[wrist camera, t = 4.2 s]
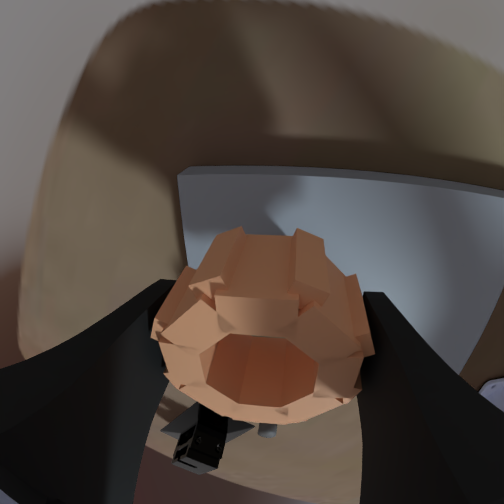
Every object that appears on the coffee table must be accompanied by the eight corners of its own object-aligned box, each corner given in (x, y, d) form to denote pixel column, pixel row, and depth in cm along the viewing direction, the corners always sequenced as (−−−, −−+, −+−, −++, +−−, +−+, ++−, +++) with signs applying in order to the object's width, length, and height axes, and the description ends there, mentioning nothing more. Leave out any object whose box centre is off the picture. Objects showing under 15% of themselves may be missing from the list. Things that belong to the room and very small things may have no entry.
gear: (371, 228, 8) (398, 289, 5) (343, 365, 10) (347, 430, 8) (172, 221, 8) (126, 274, 6) (197, 355, 11) (175, 414, 9)
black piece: (199, 382, 21) (183, 432, 17) (278, 418, 22) (272, 466, 18) (151, 427, 27) (137, 461, 23) (211, 453, 28) (202, 487, 24)
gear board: (513, 192, 11) (567, 231, 7) (444, 372, 17) (459, 424, 13) (189, 166, 13) (142, 200, 9) (215, 368, 19) (198, 424, 15)
